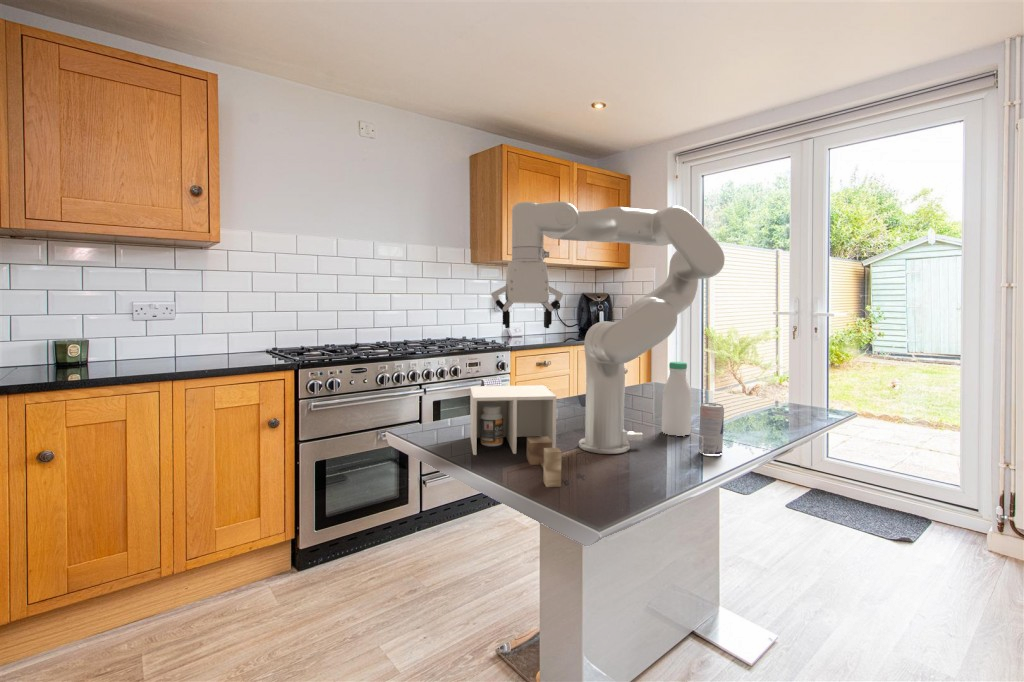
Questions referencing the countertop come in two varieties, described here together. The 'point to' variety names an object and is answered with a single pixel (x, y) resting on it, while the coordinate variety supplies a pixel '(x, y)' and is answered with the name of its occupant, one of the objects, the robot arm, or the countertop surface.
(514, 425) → the cubby shelf
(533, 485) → the countertop surface
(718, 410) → the energy drink
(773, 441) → the countertop surface
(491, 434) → the pill bottle
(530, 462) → the wooden block tool
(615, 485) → the countertop surface
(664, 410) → the milk bottle
